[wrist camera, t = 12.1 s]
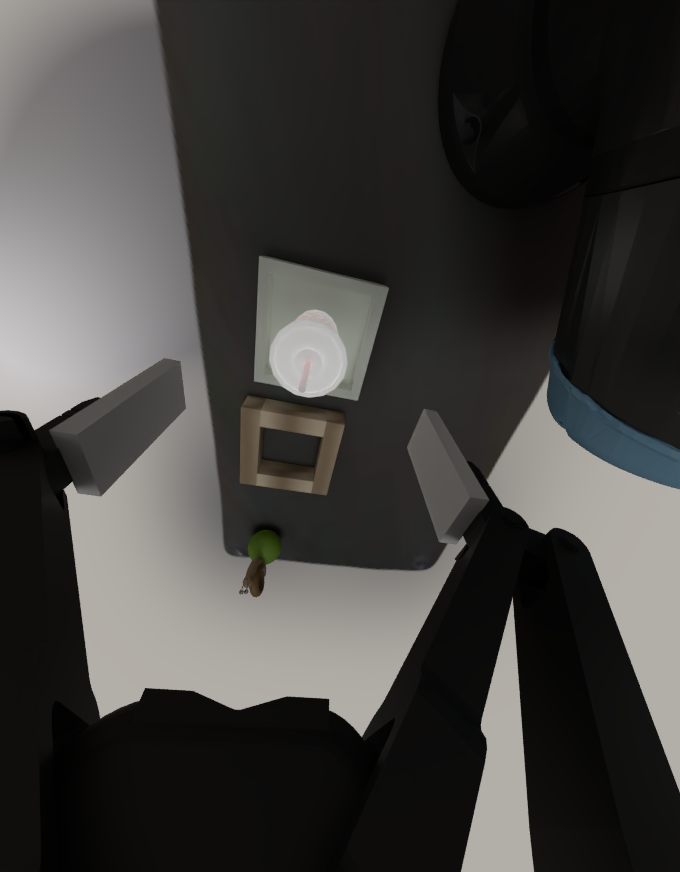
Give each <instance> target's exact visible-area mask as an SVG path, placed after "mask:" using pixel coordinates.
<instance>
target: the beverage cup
mask: <svg viewBox="0 0 680 872" xmlns="http://www.w3.org/2000/svg"><path fill="white" fill-rule="evenodd" d="M269 362H270V365H271V369H272V372H273V375H274V376H275V378H276V379H277V380H278V382H279V383H280V384H281V385H282V387H284V388H285V389H287V390H289V391H290V392H292V393H293V394H295V395H299V396H304V397H309V398H310V397H317V396H323V395H325V394H327V393H329V392H330V391H332V390H334V389H335V388H336V387H337V386H338V385H339V383H340V382H341V381H342V380H343V378H344V376H345V372H346V368H347V364H348V362H347V355H346V348H345V345H344V343H343V342H342V340H341V338H340V337H339V334H338V331H337V327H336V324H335V323H334V321H333V319H332V318H331V317H330V316H329V315H328V314H326V313H325V312H323V311H319V310H310V311H306V312H304V313H303V314H302V315H300V316H299V317H298V318H297V319H296V320H295V321H293V322H291V323H290V324H288V325H287V326H285V327H284V328H282V329H281V330H280V331H279V332H278V334H277V335H276V337H275V339H274V341H273V342H272V344H271V347H270V356H269Z"/></svg>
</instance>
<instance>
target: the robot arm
mask: <svg viewBox="0 0 680 872" xmlns="http://www.w3.org/2000/svg"><path fill="white" fill-rule="evenodd" d="M439 121H440V130H441V136H442V141H443V145H444V149H445V152H446V156H447V158H448V161H449V164H450V166H451V168H452V170H453V172H454V174H455V176H456V177H457V179H458V180H459V182H460V183H461V184H462V186H463V187H464V188H465V189H466V190H467V191H468V192H469V193H470V194H471V195H472V196H474V197H475V198H476V199H478V200H480V201H481V202H483V203H485V204H488V205H490V206H494V207H498V208H505V209H514V208H523V207H527V206H532V205H536V204H540V203H544V202H547V201H550V200H553V199H556V198H558V197H560V196H562V195H564V194H566V193H568V192H570V191H572V190H574V189H576V188H577V187H579V186H580V185H582V184H583V183H585V182H586V181H588V182H587V187H586V192H585V195H584V198H583V204H582V209H581V215H580V220H579V225H578V231H577V236H576V241H575V246H574V251H573V256H572V261H571V266H570V270H569V275H568V280H567V285H566V290H565V295H564V300H563V305H562V309H561V314H560V319H559V324H558V329H557V334H556V337H555V339H554V340H553V341H552V342H551V345H550V348H549V360H550V363H551V368H550V375H549V382H548V389H547V402H548V406H549V409H550V412H551V414H552V416H553V418H554V419H555V421H556V422H557V423H558V424H559V425H560V426H561V427H563V428H564V429H566V432H567V433H568V436H569V437H570V438H571V439H572V440H574V441H575V442H576V443H578V444H579V445H580V446H581V447H583V448H585V449H586V450H587V451H589V452H590V453H592V454H593V455H595V456H597V457H599V458H600V459H602V460H604V461H606V462H608V463H610V464H612V465H614V466H616V467H618V468H620V469H622V470H625V471H627V472H629V473H632V474H634V475H637V476H640V477H642V478H645V479H648V480H651V481H654V482H656V483H659V484H663V485H666V486H670V487H673V488H677V489H680V0H458V3H457V6H456V9H455V12H454V15H453V18H452V21H451V24H450V28H449V31H448V35H447V39H446V43H445V48H444V53H443V58H442V65H441V72H440V82H439ZM180 364H181V363H180V361H176V360H171V359H165V358H164V359H163V360H161V361H159V362H158V363H156V364H154V365H153V366H151V367H150V368H148V369H146V370H145V371H143V372H142V373H140V374H139V375H137V376H135V377H134V378H132V379H131V380H129V381H128V382H126V383H124V384H123V385H121V386H120V387H118V388H116V389H115V390H113V391H111V392H110V393H108V394H107V395H105V396H103V397H102V398H99V397H97V398H94V399H91V400H87V401H84V402H81V403H80V404H78V405H76V406H75V407H73V408H72V409H71V410H68V411H66V412H65V413H63V414H62V416H58V417H56V418H55V419H53V420H51V421H50V422H48V423H46V424H45V425H43V426H41V427H40V428H38V429H36V430H34V429H33V427H32V425H31V423H30V421H29V419H28V417H27V415H26V414H24V413H21V412H18V411H9V410H7V411H0V872H461V869H462V864H463V859H464V855H465V850H466V846H467V841H468V837H469V832H470V828H471V823H472V819H473V814H474V810H475V805H476V801H477V796H478V791H479V786H480V782H481V778H482V773H483V769H484V765H485V759H486V751H487V744H486V738H485V736H484V735H483V733H482V731H481V720H482V716H483V712H484V708H485V704H486V700H487V696H488V691H489V688H490V684H491V680H492V676H493V672H494V668H495V664H496V660H497V656H498V652H499V648H500V644H501V640H502V636H503V632H504V629H505V625H506V621H507V617H508V613H509V609H510V605H511V601H512V597H513V605H514V620H515V633H516V647H517V659H518V660H517V661H518V674H519V689H520V703H521V717H522V731H523V744H524V758H525V772H526V787H527V800H528V815H529V828H530V838H531V847H532V856H533V865H534V872H680V792H679V789H678V787H677V784H676V781H675V779H674V776H673V773H672V771H671V768H670V765H669V763H668V760H667V757H666V755H665V752H664V749H663V747H662V744H661V741H660V739H659V736H658V733H657V730H656V728H655V725H654V723H653V720H652V717H651V715H650V712H649V709H648V707H647V704H646V701H645V699H644V696H643V693H642V690H641V688H640V685H639V682H638V680H637V677H636V675H635V672H634V669H633V666H632V664H631V661H630V658H629V656H628V653H627V650H626V648H625V645H624V642H623V640H622V637H621V635H620V632H619V629H618V626H617V624H616V621H615V618H614V616H613V613H612V610H611V608H610V605H609V603H608V600H607V597H606V594H605V592H604V589H603V586H602V584H601V581H600V578H599V576H598V573H597V571H596V568H595V565H594V562H593V560H592V557H591V554H590V552H589V550H588V549H587V547H586V546H585V545H584V544H583V542H582V541H581V540H580V539H579V538H578V537H576V536H575V535H573V534H571V533H569V532H567V531H566V530H563V529H560V528H553V529H552V530H550V531H549V532H548V533H547V534H546V535H545V534H543V533H540V532H538V531H535V530H532V529H530V528H529V526H528V525H527V523H526V521H525V520H524V519H523V518H522V517H521V516H520V515H518V514H517V513H516V512H514V511H512V510H510V509H508V508H505V507H503V506H502V504H501V503H500V501H499V500H498V498H497V497H496V495H495V493H494V492H493V490H492V489H491V487H490V486H489V484H488V482H487V481H486V479H484V478H485V477H484V476H483V474H482V473H481V471H480V470H479V469H478V468H477V467H476V466H475V465H474V464H473V463H472V462H469V461H466V460H465V458H464V457H463V455H462V453H461V452H460V450H459V448H458V447H457V445H456V443H455V442H454V440H453V438H452V437H451V435H450V433H449V431H448V430H447V428H446V426H445V425H444V423H443V421H442V420H441V418H440V416H439V415H438V413H437V412H436V411H431V410H426V409H424V410H423V412H422V415H421V417H420V419H419V421H418V424H417V426H416V428H415V431H414V433H413V435H412V437H411V440H410V442H409V444H408V446H407V449H408V452H409V454H410V457H411V460H412V463H413V466H414V469H415V472H416V475H417V478H418V481H419V484H420V487H421V490H422V493H423V496H424V499H425V502H426V505H427V507H428V510H429V513H430V516H431V519H432V522H433V525H434V528H435V531H436V534H437V537H438V540H439V542H442V543H450V544H457V543H458V541H459V540H460V538H461V537H462V536H464V539H465V541H466V543H467V544H466V545H465V546H464V548H463V549H462V550H461V552H460V553H459V554H458V555H457V557H456V558H455V560H456V563H455V565H454V567H453V569H452V570H451V572H450V574H449V576H448V578H447V580H446V582H445V584H444V586H443V588H442V590H441V592H440V594H439V596H438V598H437V600H436V601H435V603H434V605H433V607H432V609H431V611H430V613H429V615H428V617H427V619H426V621H425V623H424V625H423V627H422V629H421V630H420V632H419V634H418V636H417V638H416V640H415V642H414V644H413V646H412V648H411V650H410V652H409V654H408V656H407V658H406V660H405V661H404V663H403V666H402V667H401V669H400V671H399V673H398V675H397V677H396V679H395V681H394V683H393V685H392V687H391V689H390V691H389V692H388V694H387V696H386V698H385V700H384V702H383V703H382V705H381V707H380V708H379V709H378V711H377V712H376V714H375V715H374V717H373V719H372V720H371V722H370V724H369V726H368V727H367V729H366V731H365V733H364V735H363V736H362V737H361V736H360V735H359V733H358V732H357V731H356V730H355V729H354V728H353V727H352V726H351V725H350V724H349V723H348V722H347V721H346V720H345V719H343V718H342V717H340V716H339V715H337V714H336V713H333V712H332V711H329V699H320V698H304V697H283V698H280V699H277V700H273V701H270V702H266V703H263V704H259V705H256V706H252V707H249V708H245V709H242V710H234V709H232V708H229V707H227V706H225V705H223V704H220V703H218V702H216V701H214V700H212V699H210V698H207V697H205V696H203V695H201V694H199V693H196V692H194V691H185V690H168V689H149V688H145V690H144V692H143V695H142V697H141V699H140V701H138V702H134V703H132V704H129V705H127V706H124V707H121V708H119V709H117V710H115V711H113V712H112V713H110V714H108V715H106V716H104V717H102V718H101V719H100V715H99V710H98V706H97V702H96V699H95V696H94V694H93V691H92V688H91V684H90V679H89V672H88V664H87V656H86V648H85V640H84V631H83V624H82V616H81V608H80V600H79V591H78V583H77V575H76V567H75V559H74V551H73V543H72V535H71V526H70V519H69V510H68V502H67V496H66V494H65V492H64V490H63V489H64V488H66V487H67V486H68V485H69V484H70V483H71V482H72V481H73V484H74V486H75V488H76V490H77V492H78V493H80V494H87V495H95V496H102V495H103V494H104V493H105V492H106V491H107V490H108V489H109V488H110V487H111V485H112V484H113V483H114V482H115V481H116V480H117V479H118V478H119V477H120V476H121V475H122V474H123V473H124V472H125V471H126V470H127V469H128V468H129V467H130V466H131V465H132V464H133V463H134V462H135V461H136V459H137V458H138V457H139V456H140V455H141V454H142V453H143V452H144V451H145V450H146V449H147V448H148V447H149V446H150V445H151V444H152V443H153V442H154V441H155V440H156V439H157V438H158V436H160V435H161V434H162V432H163V431H164V430H165V429H166V428H167V427H168V426H169V425H170V424H171V423H172V422H173V421H174V420H175V419H176V418H177V417H178V416H179V415H180V414H181V413H182V412H183V411H184V410H185V409H186V406H185V397H184V389H183V380H182V372H181V365H180Z"/></svg>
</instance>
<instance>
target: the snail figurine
mask: <svg viewBox="0 0 680 872" xmlns="http://www.w3.org/2000/svg"><path fill="white" fill-rule="evenodd" d="M280 551H281V540H280V538H279V536H278V535H277V534H276V533H275V532H273V531H271V530H262V531H259V532H257V533H256V534H255V535H254V536H253V537H252V538H251V540H250V542H249V545H248V553H249V556H250V558H251V559H252V562H251V564H250V566H249V568H248V570H247V573H246V577H245V578H244V580H243V585H244V587H246V588H248V587H249V588H250V592H251V594H252V596H254V597H258V596H260V595H261V593H262V591H263V588H264V576H265V575H266V565H265V564H269V563H271V562H273V561H274V560H275V559H276V558H277V557H278V556H279V554H280ZM242 588H243V587H242ZM239 593H240V594H243V590H240V592H239ZM244 593H245V594H247V593H248V590H247V589H246V590H245V591H244Z"/></svg>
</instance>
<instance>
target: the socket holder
mask: <svg viewBox="0 0 680 872" xmlns="http://www.w3.org/2000/svg"><path fill="white" fill-rule="evenodd" d="M344 426H345V419H344V413H343V412H338V411H332V410H327V409H321V408H316V407H310V406H305V405H299V404H294V403H288V402H283V401H277V400H272V399H266V398H261V397H255V396H250V395H248V396H247V398H246V399H245V401H244V403H243V404H242V406H241V444H240V483H243V484H250V485H257V486H264V487H271V488H278V489H285V490H292V491H300V492H307V493H314V494H321V495H327V491H328V487H329V483H330V479H331V476H332V472H333V468H334V464H335V460H336V457H337V453H338V449H339V445H340V441H341V438H342V434H343V430H344ZM264 427H266V428H272V429H278V430H284V431H290V432H296V433H302V434H308V435H314V436H320V437H321V441H320V446H319V450H318V455H317V460H316V464H315V467H308V466H302V465H295V464H289V463H282V462H275V461H269V460H262V453H263V439H264Z"/></svg>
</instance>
